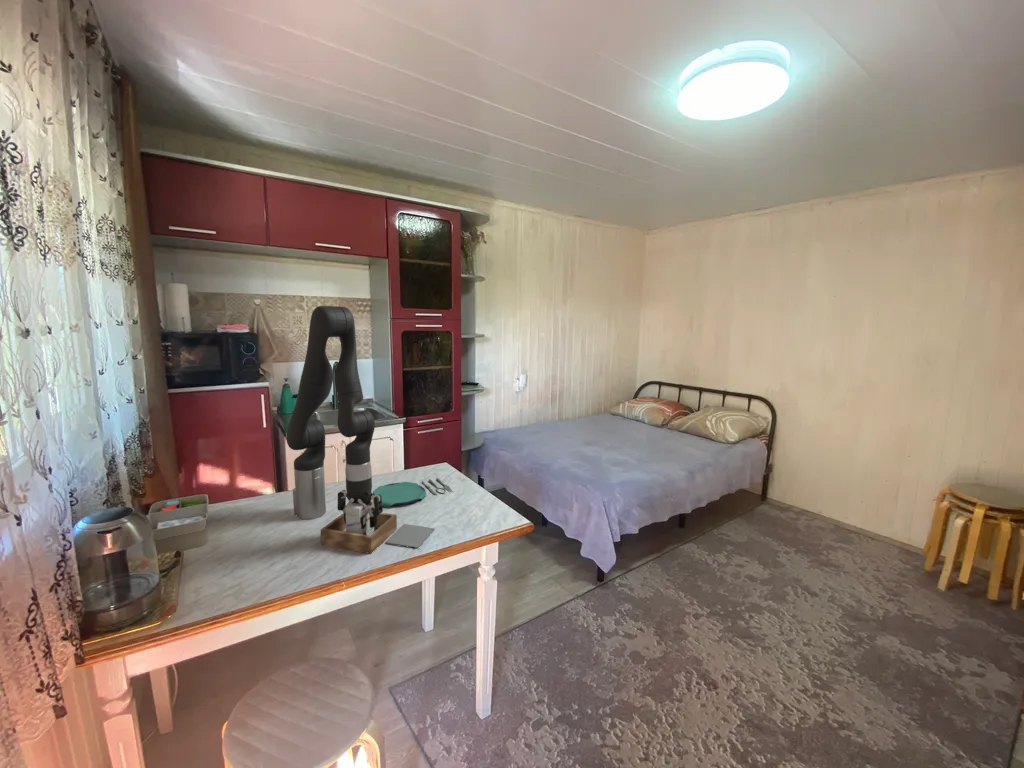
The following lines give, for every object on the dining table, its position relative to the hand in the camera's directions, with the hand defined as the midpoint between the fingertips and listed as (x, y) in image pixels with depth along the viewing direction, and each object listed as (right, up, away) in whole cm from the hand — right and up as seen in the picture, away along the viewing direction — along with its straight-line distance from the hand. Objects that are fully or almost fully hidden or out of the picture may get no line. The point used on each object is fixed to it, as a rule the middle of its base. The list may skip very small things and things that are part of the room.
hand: (360, 524), depth 131 cm
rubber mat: (+15, -4, +2) cm, 16 cm away
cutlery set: (+8, 0, +34) cm, 35 cm away
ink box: (0, -4, +1) cm, 4 cm away
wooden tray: (0, -4, +1) cm, 4 cm away
